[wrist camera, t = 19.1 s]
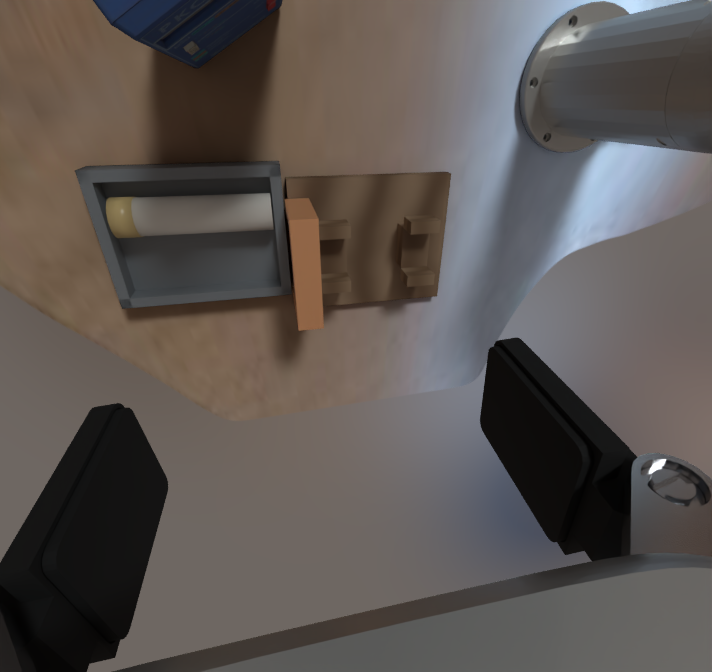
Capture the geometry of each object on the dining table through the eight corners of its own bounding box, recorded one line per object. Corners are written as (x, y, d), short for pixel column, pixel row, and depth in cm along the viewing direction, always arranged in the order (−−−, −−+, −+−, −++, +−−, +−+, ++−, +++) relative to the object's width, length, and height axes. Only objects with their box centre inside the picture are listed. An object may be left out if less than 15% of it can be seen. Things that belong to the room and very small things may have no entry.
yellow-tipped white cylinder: (272, 221, 41) (269, 186, 38) (274, 236, 38) (270, 200, 36) (125, 228, 38) (113, 191, 36) (116, 245, 36) (101, 206, 33)
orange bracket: (308, 198, 39) (318, 218, 32) (314, 293, 45) (323, 328, 38) (284, 199, 39) (289, 220, 32) (293, 295, 44) (298, 330, 37)
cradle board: (446, 171, 42) (469, 180, 37) (433, 292, 49) (451, 312, 44) (285, 177, 39) (288, 188, 34) (296, 304, 46) (300, 327, 42)
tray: (278, 161, 38) (279, 164, 36) (290, 284, 45) (291, 294, 43) (86, 166, 35) (74, 170, 33) (129, 297, 42) (122, 308, 40)
